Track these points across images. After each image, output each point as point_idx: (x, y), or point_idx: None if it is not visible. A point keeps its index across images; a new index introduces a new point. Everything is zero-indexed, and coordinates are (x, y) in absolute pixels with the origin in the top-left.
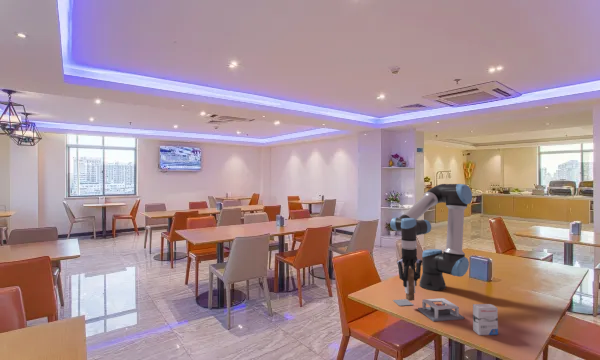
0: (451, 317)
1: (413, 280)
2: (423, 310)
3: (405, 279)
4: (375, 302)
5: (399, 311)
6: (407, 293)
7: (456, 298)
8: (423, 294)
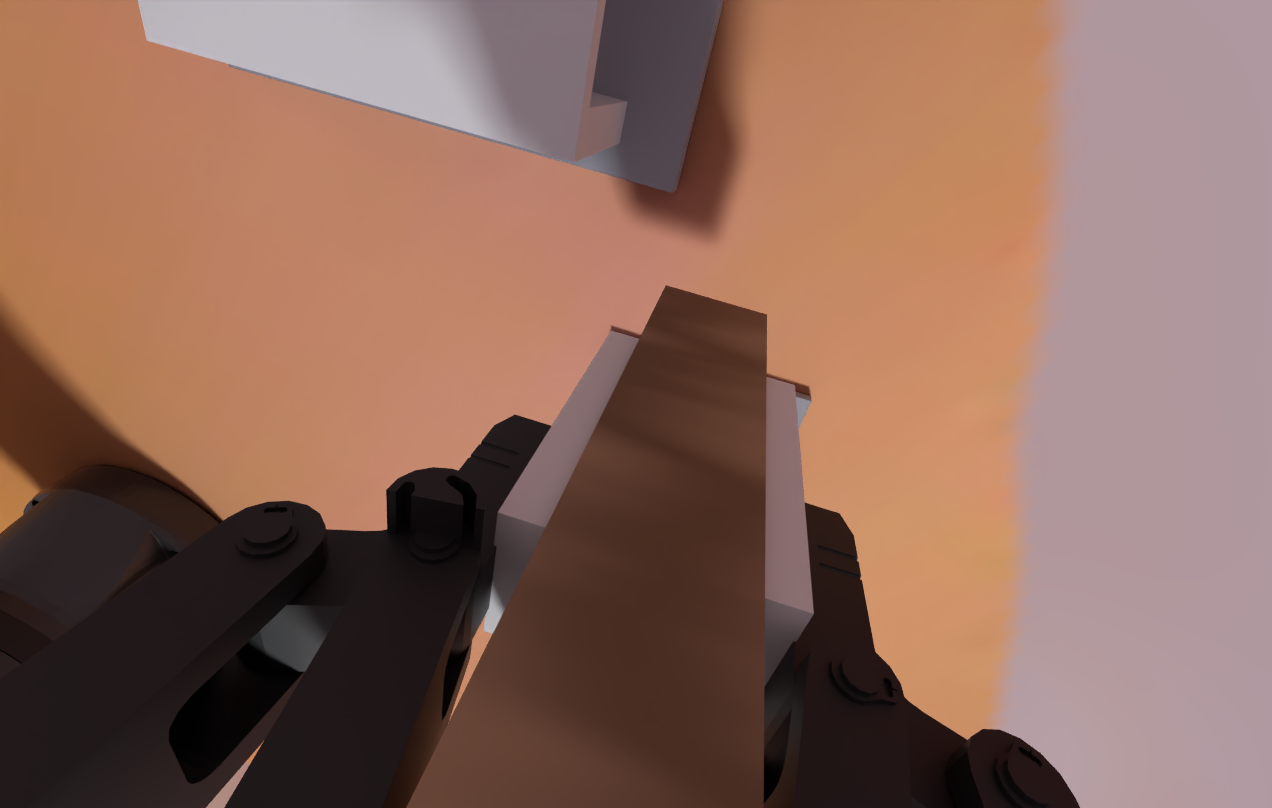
0: None
1: (561, 538)
2: (667, 57)
3: (884, 712)
4: (976, 603)
5: (982, 266)
6: (792, 388)
7: (35, 254)
8: (326, 486)
